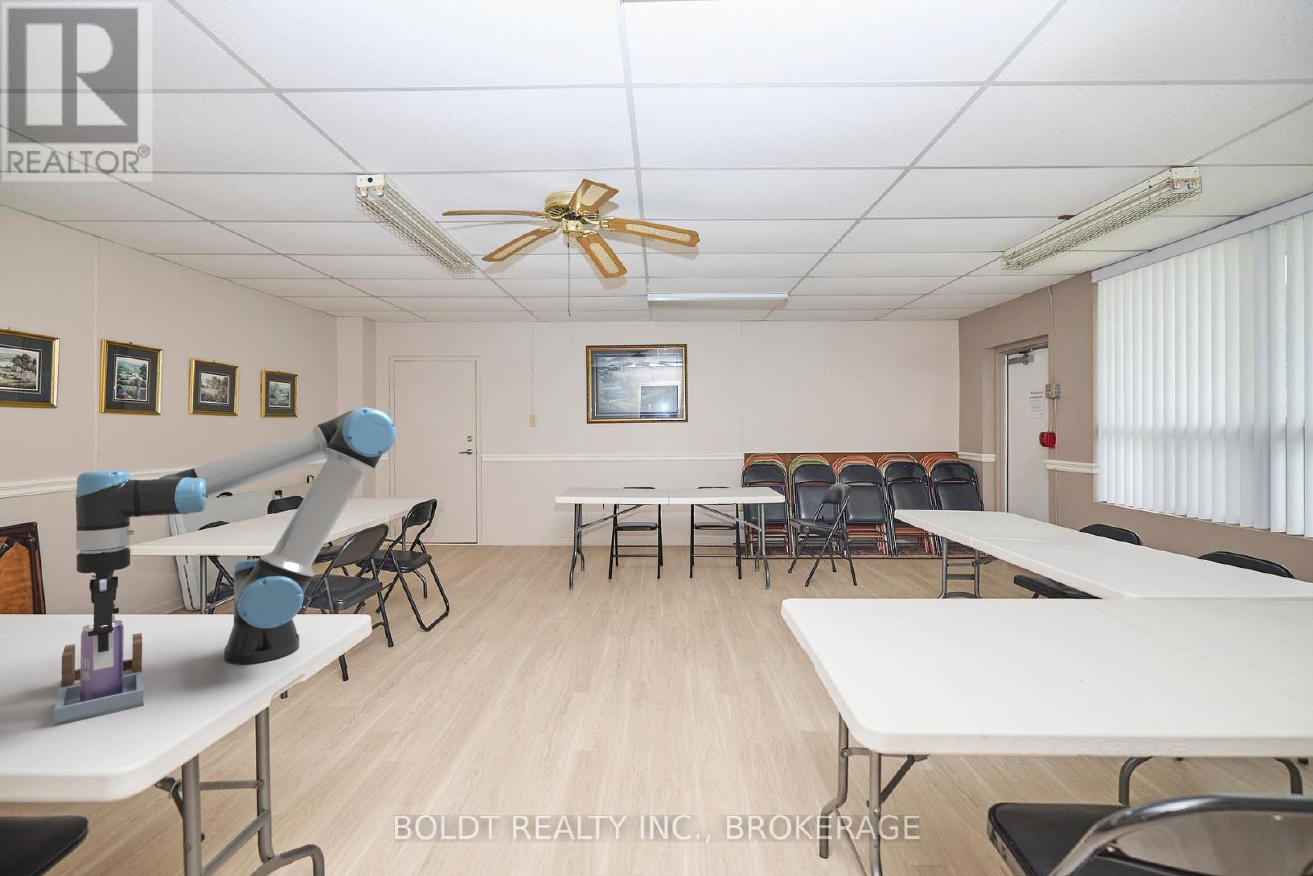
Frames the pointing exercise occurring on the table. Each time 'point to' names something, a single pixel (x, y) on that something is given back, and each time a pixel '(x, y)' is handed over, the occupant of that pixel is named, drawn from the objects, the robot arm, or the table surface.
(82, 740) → the table surface
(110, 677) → the beverage can
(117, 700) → the tray
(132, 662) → the bracket
